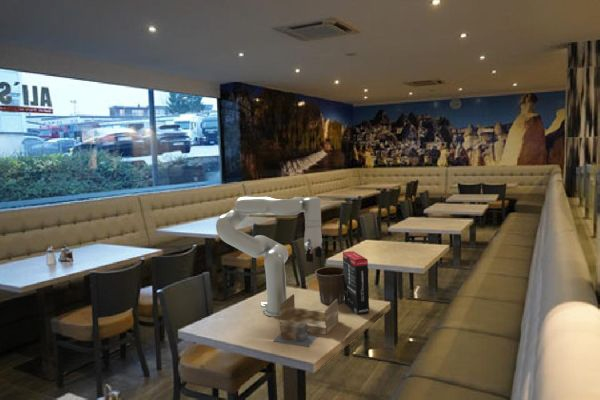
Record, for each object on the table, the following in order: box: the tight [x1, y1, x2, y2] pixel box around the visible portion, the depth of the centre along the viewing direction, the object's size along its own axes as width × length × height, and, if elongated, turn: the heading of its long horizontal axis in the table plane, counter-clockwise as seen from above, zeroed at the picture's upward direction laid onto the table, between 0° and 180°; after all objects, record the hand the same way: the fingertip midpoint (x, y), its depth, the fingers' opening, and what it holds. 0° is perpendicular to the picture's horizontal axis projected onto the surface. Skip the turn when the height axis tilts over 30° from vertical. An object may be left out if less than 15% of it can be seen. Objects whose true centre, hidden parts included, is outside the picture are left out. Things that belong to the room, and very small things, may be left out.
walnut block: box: [279, 321, 308, 342], centre depth 191 cm, size 10×5×6 cm, turn 66°
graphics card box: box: [342, 250, 370, 316], centre depth 221 cm, size 17×7×27 cm, turn 17°
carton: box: [278, 294, 340, 335], centre depth 204 cm, size 22×18×11 cm
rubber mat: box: [272, 334, 318, 348], centre depth 191 cm, size 16×10×1 cm, turn 67°
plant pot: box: [314, 266, 345, 306], centre depth 234 cm, size 16×16×16 cm
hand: (314, 259), depth 216 cm, fingers open, 9 cm apart
